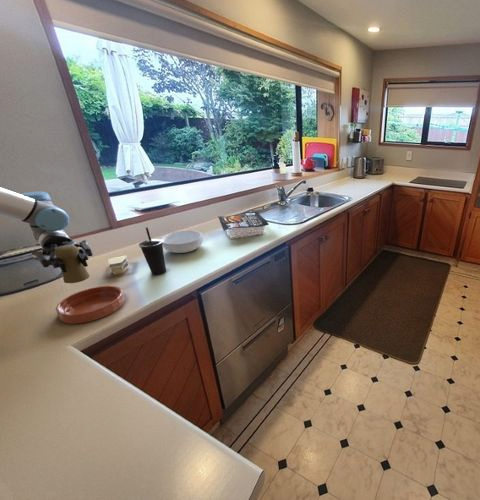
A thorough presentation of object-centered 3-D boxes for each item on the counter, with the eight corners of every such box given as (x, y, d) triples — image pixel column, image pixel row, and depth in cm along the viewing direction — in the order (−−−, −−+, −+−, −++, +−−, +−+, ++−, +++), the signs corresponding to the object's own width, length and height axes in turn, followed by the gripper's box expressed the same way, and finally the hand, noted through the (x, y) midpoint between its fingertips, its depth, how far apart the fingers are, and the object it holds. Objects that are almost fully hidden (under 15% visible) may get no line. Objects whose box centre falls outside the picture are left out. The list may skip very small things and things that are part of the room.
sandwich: (134, 274, 113) (130, 262, 110) (105, 279, 108) (100, 267, 106) (135, 264, 120) (132, 252, 118) (109, 268, 116) (105, 256, 114)
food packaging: (217, 215, 160) (257, 210, 171) (219, 227, 163) (258, 222, 174) (223, 229, 141) (268, 223, 151) (226, 243, 144) (269, 236, 154)
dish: (47, 328, 83) (41, 318, 82) (80, 297, 97) (76, 288, 96) (111, 322, 87) (106, 311, 85) (133, 293, 101) (130, 283, 100)
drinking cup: (167, 267, 119) (155, 222, 111) (172, 273, 114) (160, 228, 106) (146, 272, 114) (132, 226, 106) (150, 280, 109) (136, 232, 101)
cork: (93, 277, 89) (81, 246, 85) (68, 285, 84) (54, 252, 80) (85, 271, 92) (73, 241, 87) (60, 279, 87) (47, 247, 83)
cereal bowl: (167, 261, 124) (163, 246, 121) (161, 248, 135) (158, 234, 132) (208, 252, 134) (206, 238, 131) (200, 240, 145) (197, 227, 142)
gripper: (92, 245, 103) (113, 266, 91) (25, 261, 91) (38, 287, 78) (85, 226, 100) (106, 245, 87) (14, 240, 88) (26, 264, 75)
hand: (74, 265), depth 83 cm, fingers closed on cork, 4 cm apart
